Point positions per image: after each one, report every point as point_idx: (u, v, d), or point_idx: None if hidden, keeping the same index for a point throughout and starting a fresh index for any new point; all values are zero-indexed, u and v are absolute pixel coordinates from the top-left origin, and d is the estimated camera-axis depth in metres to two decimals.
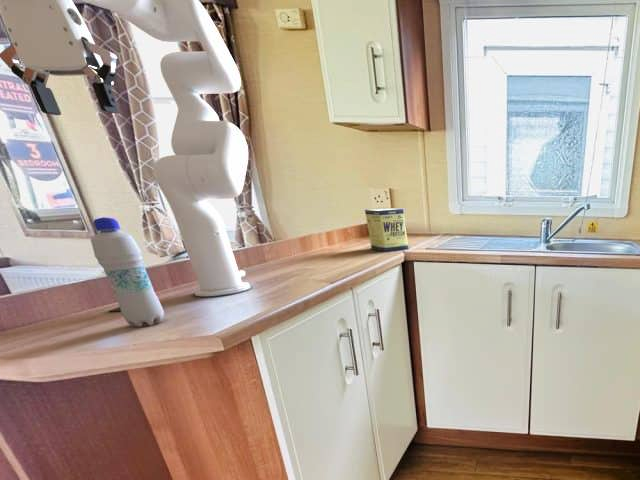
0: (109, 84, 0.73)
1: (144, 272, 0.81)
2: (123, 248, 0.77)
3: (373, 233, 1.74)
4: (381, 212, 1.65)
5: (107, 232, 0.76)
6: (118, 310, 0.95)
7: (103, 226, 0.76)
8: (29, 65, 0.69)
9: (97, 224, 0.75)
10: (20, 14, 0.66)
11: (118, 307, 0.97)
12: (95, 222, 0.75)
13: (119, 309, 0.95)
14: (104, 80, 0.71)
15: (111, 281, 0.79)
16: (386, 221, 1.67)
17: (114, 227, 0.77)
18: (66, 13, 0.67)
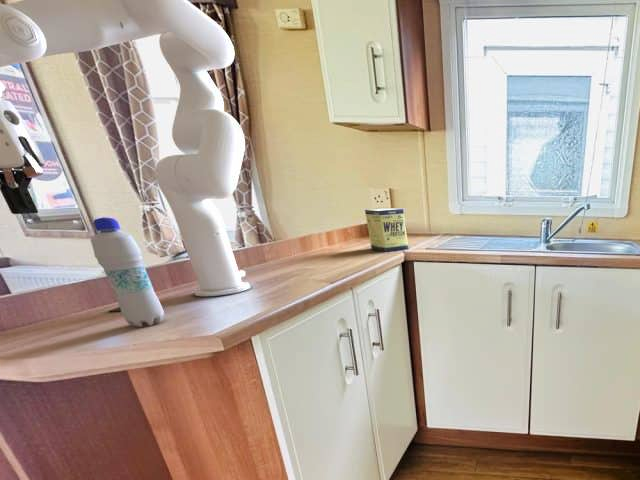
0: None
1: (144, 272, 0.81)
2: (123, 248, 0.77)
3: (373, 233, 1.74)
4: (381, 212, 1.64)
5: (106, 232, 0.76)
6: (118, 310, 0.95)
7: (103, 226, 0.76)
8: None
9: (97, 224, 0.75)
10: None
11: (118, 307, 0.97)
12: (95, 222, 0.75)
13: (119, 309, 0.95)
14: (19, 185, 0.72)
15: (111, 281, 0.79)
16: (386, 221, 1.67)
17: (114, 227, 0.77)
18: (2, 116, 0.68)
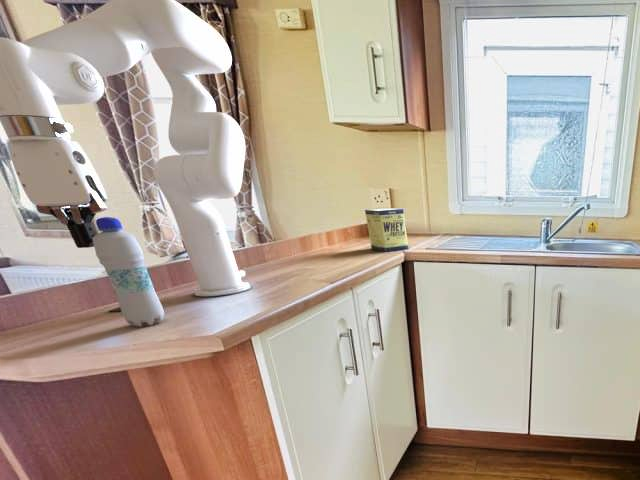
0: None
1: (145, 272, 0.81)
2: (125, 248, 0.77)
3: (373, 233, 1.74)
4: (381, 212, 1.64)
5: (109, 232, 0.76)
6: (118, 310, 0.95)
7: (105, 226, 0.76)
8: (36, 202, 0.73)
9: (99, 224, 0.75)
10: (28, 160, 0.70)
11: (118, 307, 0.97)
12: (97, 222, 0.75)
13: (119, 309, 0.95)
14: (84, 221, 0.75)
15: (112, 281, 0.78)
16: (386, 221, 1.67)
17: (116, 227, 0.77)
18: (71, 157, 0.71)
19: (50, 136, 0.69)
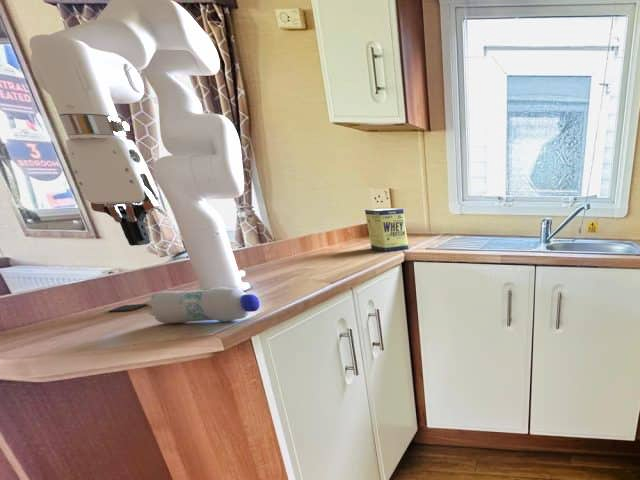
0: None
1: None
2: (230, 319, 0.83)
3: (373, 233, 1.74)
4: (381, 212, 1.64)
5: (241, 308, 0.82)
6: (118, 310, 0.95)
7: (246, 308, 0.82)
8: (92, 200, 0.73)
9: (246, 304, 0.82)
10: (86, 159, 0.70)
11: (118, 307, 0.97)
12: (248, 302, 0.82)
13: (119, 309, 0.95)
14: (137, 219, 0.76)
15: (190, 304, 0.80)
16: (386, 221, 1.67)
17: (249, 311, 0.83)
18: (128, 155, 0.71)
19: (108, 134, 0.70)
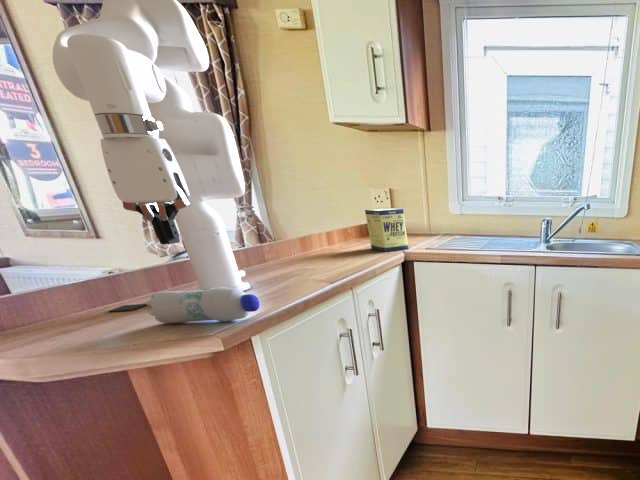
0: None
1: None
2: (230, 319, 0.83)
3: (373, 233, 1.74)
4: (381, 212, 1.64)
5: (241, 308, 0.82)
6: (118, 310, 0.95)
7: (246, 308, 0.82)
8: (124, 199, 0.74)
9: (246, 304, 0.82)
10: (121, 158, 0.71)
11: (118, 307, 0.97)
12: (248, 302, 0.82)
13: (119, 309, 0.95)
14: (169, 217, 0.76)
15: (190, 304, 0.80)
16: (386, 221, 1.67)
17: (249, 311, 0.83)
18: (161, 154, 0.72)
19: (143, 134, 0.70)
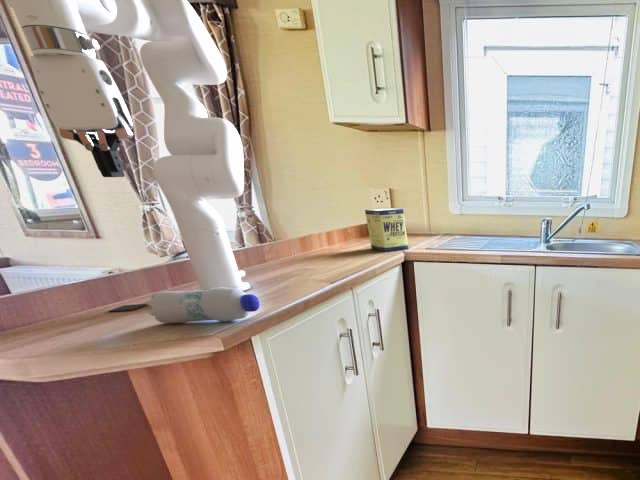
0: None
1: None
2: (230, 319, 0.83)
3: (373, 233, 1.74)
4: (381, 212, 1.64)
5: (241, 308, 0.82)
6: (118, 310, 0.95)
7: (246, 308, 0.82)
8: (60, 125, 0.69)
9: (246, 304, 0.82)
10: (53, 78, 0.66)
11: (118, 307, 0.97)
12: (248, 302, 0.82)
13: (119, 309, 0.95)
14: (110, 147, 0.72)
15: (190, 304, 0.80)
16: (386, 221, 1.67)
17: (249, 311, 0.83)
18: (98, 75, 0.68)
19: (77, 51, 0.66)
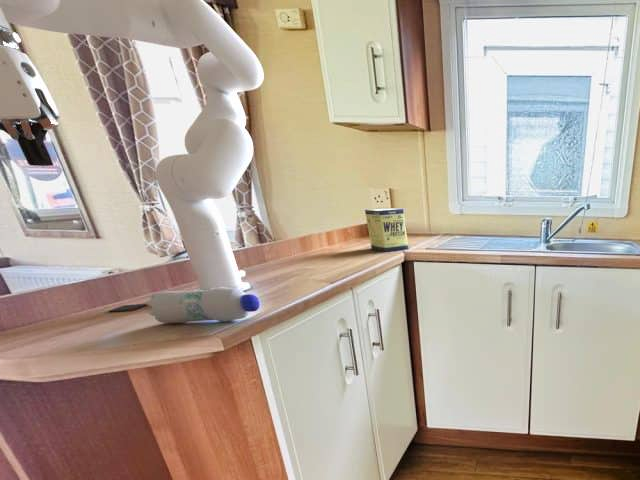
0: None
1: None
2: (230, 319, 0.83)
3: (373, 233, 1.74)
4: (381, 212, 1.64)
5: (241, 308, 0.82)
6: (118, 310, 0.95)
7: (246, 308, 0.82)
8: None
9: (246, 304, 0.82)
10: None
11: (118, 307, 0.97)
12: (248, 302, 0.82)
13: (119, 309, 0.95)
14: (35, 137, 0.75)
15: (190, 304, 0.80)
16: (386, 221, 1.67)
17: (249, 311, 0.83)
18: (19, 67, 0.71)
19: None
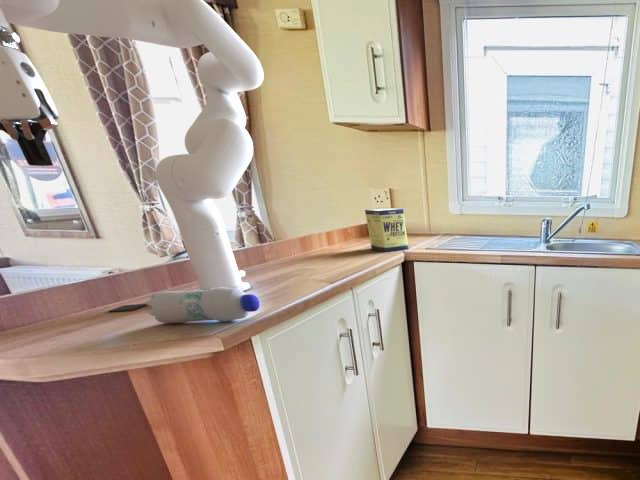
0: None
1: None
2: (230, 319, 0.83)
3: (373, 233, 1.74)
4: (381, 212, 1.64)
5: (241, 308, 0.82)
6: (118, 310, 0.95)
7: (246, 308, 0.82)
8: None
9: (246, 304, 0.82)
10: None
11: (118, 307, 0.97)
12: (248, 302, 0.82)
13: (119, 309, 0.95)
14: (35, 137, 0.75)
15: (190, 304, 0.80)
16: (386, 221, 1.67)
17: (249, 311, 0.83)
18: (19, 67, 0.71)
19: None
